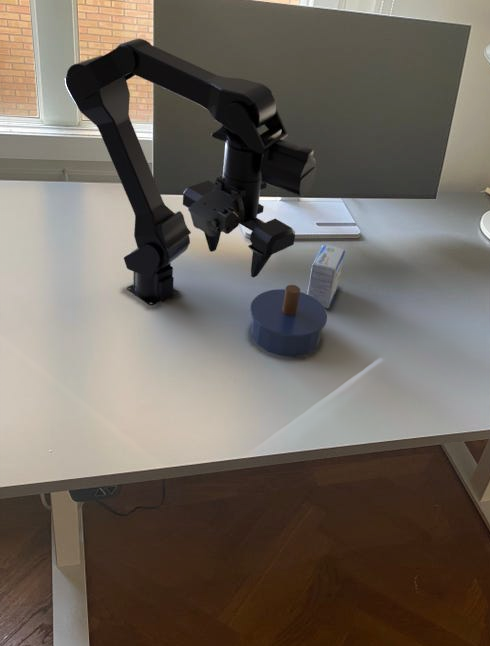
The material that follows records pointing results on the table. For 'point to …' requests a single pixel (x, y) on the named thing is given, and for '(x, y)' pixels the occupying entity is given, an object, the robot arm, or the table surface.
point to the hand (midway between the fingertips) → (233, 263)
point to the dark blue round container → (284, 342)
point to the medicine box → (326, 274)
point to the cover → (288, 312)
